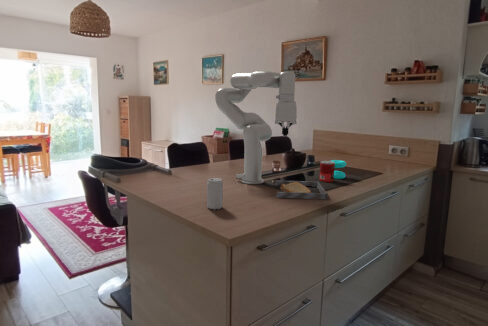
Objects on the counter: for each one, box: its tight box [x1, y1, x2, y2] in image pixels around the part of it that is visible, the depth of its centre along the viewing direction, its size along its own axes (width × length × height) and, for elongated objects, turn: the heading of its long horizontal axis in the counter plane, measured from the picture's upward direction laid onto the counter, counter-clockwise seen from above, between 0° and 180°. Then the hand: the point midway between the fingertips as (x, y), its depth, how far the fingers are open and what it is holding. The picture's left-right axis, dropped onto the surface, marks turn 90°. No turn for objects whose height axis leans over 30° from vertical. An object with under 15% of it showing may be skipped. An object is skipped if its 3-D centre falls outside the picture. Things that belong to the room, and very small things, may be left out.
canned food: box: [319, 160, 336, 183], centre depth 186 cm, size 8×8×11 cm
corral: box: [274, 179, 329, 200], centre depth 162 cm, size 23×24×2 cm
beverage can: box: [206, 177, 224, 211], centre depth 133 cm, size 6×6×12 cm
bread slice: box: [279, 182, 312, 193], centre depth 163 cm, size 18×18×4 cm
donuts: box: [330, 159, 347, 180], centre depth 195 cm, size 10×10×10 cm
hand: (285, 135), depth 162 cm, fingers closed
